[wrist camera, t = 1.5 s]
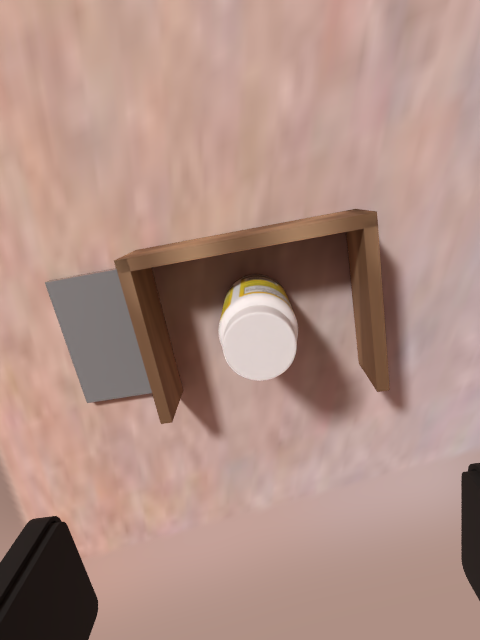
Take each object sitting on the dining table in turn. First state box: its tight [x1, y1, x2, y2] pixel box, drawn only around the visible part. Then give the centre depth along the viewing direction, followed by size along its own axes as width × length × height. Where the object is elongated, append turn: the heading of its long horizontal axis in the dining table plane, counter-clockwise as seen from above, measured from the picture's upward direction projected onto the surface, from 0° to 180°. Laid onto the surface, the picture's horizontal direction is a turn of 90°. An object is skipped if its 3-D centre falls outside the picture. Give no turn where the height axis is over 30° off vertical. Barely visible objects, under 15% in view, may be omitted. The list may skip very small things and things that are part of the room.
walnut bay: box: [114, 209, 390, 424], centre depth 26 cm, size 16×12×4 cm
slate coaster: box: [45, 269, 152, 403], centre depth 29 cm, size 6×10×1 cm, turn 10°
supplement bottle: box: [218, 275, 298, 381], centre depth 24 cm, size 5×5×8 cm
